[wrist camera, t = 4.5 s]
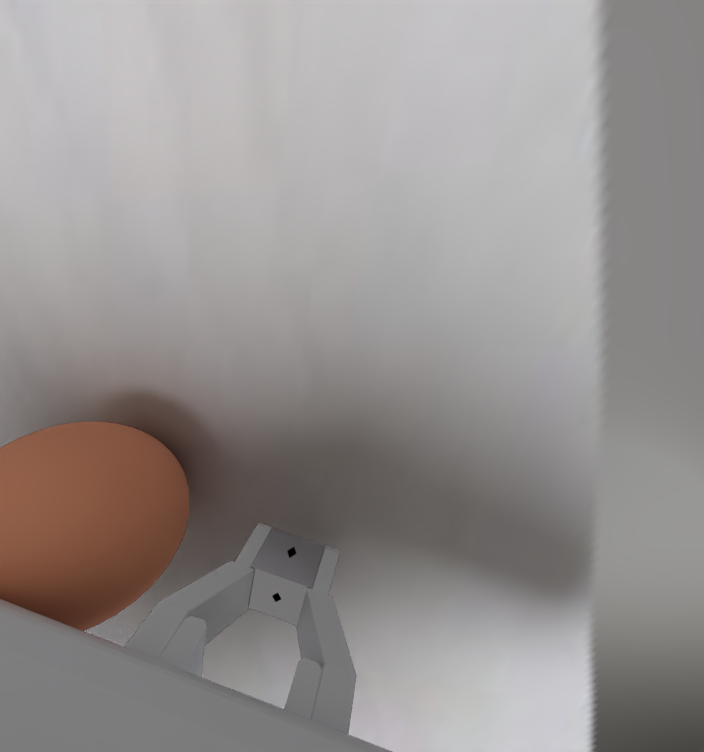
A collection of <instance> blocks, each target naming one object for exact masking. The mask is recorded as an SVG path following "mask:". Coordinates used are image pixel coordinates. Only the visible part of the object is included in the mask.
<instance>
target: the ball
mask: <svg viewBox="0 0 704 752" xmlns="http://www.w3.org/2000/svg"><path fill="white" fill-rule="evenodd" d="M189 508H190V494H189V489H188V483H187V479H186V476H185V474H184V471H183V469H182V467H181V465H180V464H179V462H178V460H177V459H176V457H175V456H174V455H173V454H172V452H171V451H170V450H169V449H168V448H167V447H166V446H165V445H164V444H162V443H161V442H160V441H158V440H157V439H155V438H154V437H152V436H151V435H149V434H147V433H145V432H143V431H141V430H138V429H135V428H132V427H129V426H126V425H122V424H117V423H109V422H101V421H98V422H75V423H68V424H62V425H56V426H52V427H49V428H45V429H42V430H39V431H36V432H33V433H31V434H28V435H26V436H23V437H20V438H18V439H16V440H14V441H12V442H10V443H8V444H6V445H5V446H3V447H1V448H0V599H2V600H4V601H7V602H10V603H12V604H15V605H17V606H20V607H22V608H25V609H28V610H30V611H33V612H35V613H38V614H40V615H43V616H46V617H48V618H51V619H53V620H56V621H58V622H61V623H63V624H66V625H69V626H71V627H74V628H76V629H79V630H81V631H84V630H87V629H89V628H91V627H94V626H96V625H98V624H100V623H102V622H104V621H105V620H107V619H109V618H111V617H113V616H114V615H116V614H118V613H119V612H120V611H122V610H123V609H125V608H126V607H127V606H129V605H130V604H132V603H133V602H134V601H135V600H137V599H138V598H139V597H140V596H141V595H142V594H143V593H145V592H146V591H147V590H148V589H149V588H150V587H151V586H152V584H153V583H154V582H155V581H156V580H157V579H158V578H159V577H160V575H161V574H162V573H163V572H164V570H165V569H166V568H167V566H168V565H169V563H170V562H171V560H172V558H173V557H174V555H175V553H176V551H177V549H178V547H179V546H180V543H181V541H182V538H183V536H184V533H185V530H186V526H187V522H188V517H189Z"/></svg>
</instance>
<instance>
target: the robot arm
mask: <svg viewBox="0 0 704 752" xmlns="http://www.w3.org/2000/svg"><path fill="white" fill-rule="evenodd" d="M338 556H339V550H337V549H334V548H331V547H328V546H326V547H325V545H323V544H320V543H317V542H314V541H311V540H308V539H304V538H301V537H297V536H294V535H291V534H289V533H286V532H283V531H281V530H278V529H275V528H272V527H269V526H267V525H264V524H261V523H259V524H258V525H257V526H256V527H255V529H254V530H253V532H252V534H251V535H250V537H249V538H248V540H247V542H246V543H245V545H244V547H243V548H242V550H241V552H240V553H239V555H238V557H237V558H236V560H235V562H233V561H229V562H227V563H225V564H223V565H222V566H220V567H218V568H216V569H215V570H213V571H211V572H209V573H208V574H206V575H204V576H203V577H201V578H199V579H197V580H196V581H194V582H192V583H190V584H189V585H187V586H185V587H183V588H182V589H180V590H178V591H176V592H175V593H173V594H171V595H169V596H168V597H166V598H164V599H162V600H161V601H159V602H158V603H157V605H156V606H155V607H154V609H153V610H152V611H151V613H150V614H149V615H148V616H147V618H146V619H145V620H144V622H143V623H142V624H141V626H140V627H139V628H138V630H137V631H136V632H135V634H134V635H133V636H132V637H131V639H130V640H129V641H128V643H127V644H126V645H125V647H122V646H120V645H117V644H115V643H112V642H110V641H107V640H104V639H102V638H99V637H97V636H94V635H92V634H89V633H87V632H84V631H81V630H79V629H76V628H74V627H71V626H69V625H66V624H63V623H61V622H58V621H56V620H53V619H51V618H48V617H46V616H43V615H40V614H38V613H35V612H33V611H30V610H28V609H25V608H22V607H20V606H17V605H15V604H12V603H10V602H7V601H4V600H2V599H0V752H392V751H390V750H387V749H385V748H382V747H379V746H377V745H374V744H372V743H369V742H367V741H364V740H361V739H359V738H356V737H354V736H351V735H349V734H348V732H349V725H350V718H351V711H352V704H353V697H354V690H355V683H356V672H355V669H354V666H353V663H352V659H351V656H350V653H349V649H348V646H347V643H346V639H345V636H344V633H343V629H342V626H341V623H340V619H339V616H338V613H337V610H336V606H335V603H334V600H333V597H332V596H330V595H329V591H330V587H331V583H332V579H333V575H334V571H335V568H336V564H337V560H338ZM248 608H249V609H252V610H255V611H258V612H262V613H265V614H268V615H271V616H273V617H276V618H278V619H281V620H283V621H286V622H288V623H291V624H293V625H296V626H297V634H298V641H299V648H300V655H301V660H300V661H299V662H298V666H297V669H296V672H295V676H294V679H293V682H292V685H291V689H290V692H289V695H288V699H287V702H286V705H285V708H284V709H282V708H279V707H277V706H274V705H272V704H269V703H267V702H264V701H261V700H259V699H256V698H254V697H251V696H249V695H246V694H243V693H241V692H238V691H236V690H233V689H231V688H228V687H225V686H223V685H220V684H218V683H215V682H213V681H210V680H208V679H205V678H202V677H201V673H202V664H203V655H204V646H205V645H206V644H207V643H208V642H209V641H210V640H212V639H213V638H214V637H215V636H217V635H218V634H219V633H220V632H221V631H223V630H224V629H225V628H226V627H227V626H229V625H230V624H231V623H232V622H233V621H235V620H236V619H237V618H238V617H239V616H241V615H242V614H243V613H244V612H245V611H247V609H248Z"/></svg>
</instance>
